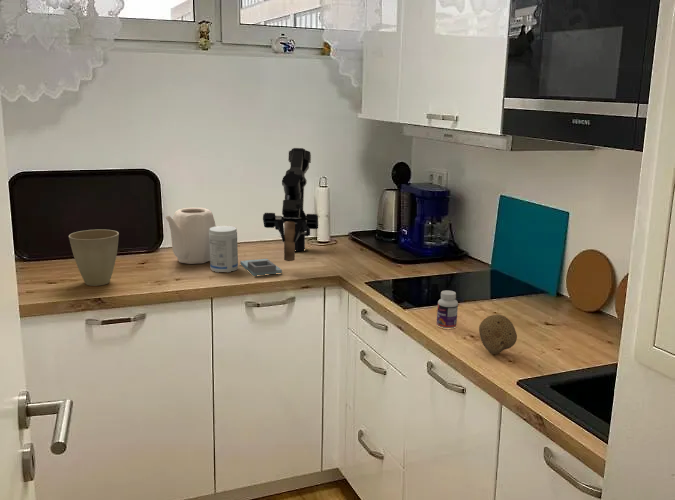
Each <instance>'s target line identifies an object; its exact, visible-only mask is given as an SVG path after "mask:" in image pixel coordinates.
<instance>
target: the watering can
mask: <svg viewBox="0 0 675 500" xmlns="http://www.w3.org/2000/svg"><path fill="white" fill-rule="evenodd" d="M165 219H166V220H167V222H168V225H169V229H170V230H169V231H170V237H171V239H170V240H171V247H172V253H173V255H174V256H175V257H176V258H177V260H178V262H179V263H181V264H188V265H196V264H205V263H207V262H210V245H209V229H210V228H212V227H215V226H217V225H216V222H215V217H214V215H213V212H212V210H210V209H208V208H205V207H184V208H179V209H177V210H176V211H174V214H173V215H172V217H171V215H167V216H165Z"/></svg>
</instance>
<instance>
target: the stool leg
mask: <svg viewBox="0 0 675 500" xmlns="http://www.w3.org/2000/svg"><path fill="white" fill-rule="evenodd" d="M283 226H284V242H283V244H284V245H283V252H284V253H283V260H284V261H287V262H293V261H295V259H296V258H295V257H296V256H295V255H296V252H295V242H294V238H295V222H293V221H286V222H284V223H283Z"/></svg>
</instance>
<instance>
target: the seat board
mask: <svg viewBox="0 0 675 500" xmlns="http://www.w3.org/2000/svg"><path fill="white" fill-rule="evenodd" d="M239 261H240V262H239V265H240V264H241V265H242V266H243V267H244V268H245V269H247V270H248V271H249V272H250V273H251V274H252V275H253V276H257V275H265V274H276V273H282V274H283V270H282V269H281V268H280V267H278V266H277V265H276V264H275V263H274V262H272V261H271V260H270V259H268V258H260V259H258V258H257V259H248V260H247V259H246V260H239ZM241 265H240V266H241ZM242 266H241V267H242ZM243 267H242V268H243ZM244 268H243V269H244ZM245 269H244V270H245ZM247 270H246V271H247ZM248 271H247V272H248ZM249 272H248V273H249ZM250 273H249V274H250ZM251 274H250V275H251ZM252 275H251V276H252ZM253 276H252V277H253ZM257 277H258V276H257Z"/></svg>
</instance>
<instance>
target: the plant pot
mask: <svg viewBox="0 0 675 500" xmlns="http://www.w3.org/2000/svg"><path fill="white" fill-rule="evenodd" d="M119 235H120V233H119V231H117V230H112V229H88V230H87V229H86V230H80V231H76V232H75V231H74V232H72V233H70V234H69V235H68V240H69V244H70V247H71V252H72V255H73V259H74V261H75V263H76V266H77V268H78V269H77V270H78V271H79V273H80V275H81V278H82V280H83V282H84V284H85V285H87V286H92V287H93V286H94V287H96V286H97V287H98V286H104V285H105V286H106V285H107V284H110V282H111V279H112V275H113V273H114V269H115V265H116V260H117V255H118V248H119V247H118V246H119Z"/></svg>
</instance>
